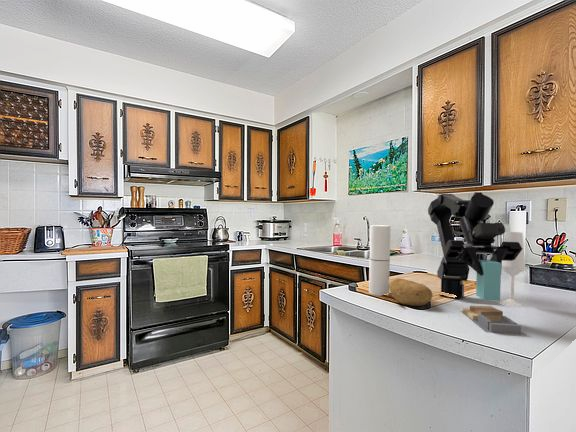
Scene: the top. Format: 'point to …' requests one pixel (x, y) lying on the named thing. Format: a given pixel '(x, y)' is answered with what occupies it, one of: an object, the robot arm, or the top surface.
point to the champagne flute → (513, 266)
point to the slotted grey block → (497, 325)
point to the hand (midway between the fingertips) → (490, 275)
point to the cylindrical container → (379, 260)
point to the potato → (410, 292)
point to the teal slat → (489, 280)
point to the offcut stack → (483, 312)
